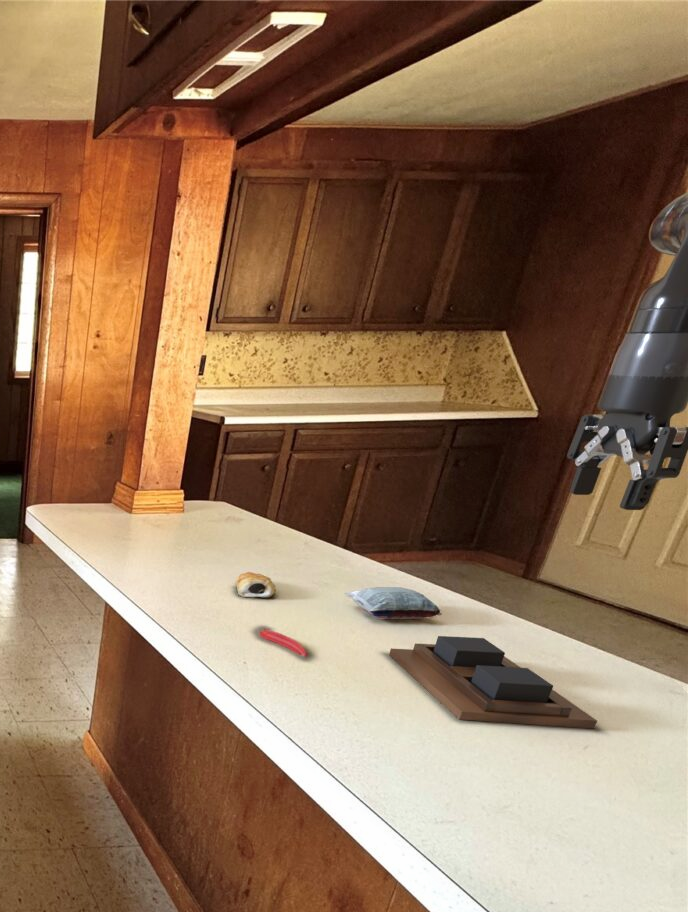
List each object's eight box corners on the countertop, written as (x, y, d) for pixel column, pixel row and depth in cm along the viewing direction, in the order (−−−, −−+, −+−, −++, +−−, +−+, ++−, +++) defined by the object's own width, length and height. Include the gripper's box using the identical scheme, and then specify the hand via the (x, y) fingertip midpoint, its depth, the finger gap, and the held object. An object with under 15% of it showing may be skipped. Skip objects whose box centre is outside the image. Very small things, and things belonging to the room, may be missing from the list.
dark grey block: (519, 690, 91) (527, 667, 90) (544, 709, 86) (553, 685, 85) (469, 687, 92) (476, 665, 91) (491, 705, 88) (499, 682, 86)
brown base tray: (498, 660, 101) (504, 646, 100) (594, 728, 84) (601, 712, 83) (388, 655, 104) (392, 640, 103) (459, 719, 87) (464, 703, 86)
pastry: (231, 581, 136) (234, 563, 135) (268, 584, 134) (271, 566, 133) (237, 597, 128) (241, 578, 127) (276, 600, 126) (280, 582, 125)
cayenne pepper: (250, 630, 115) (252, 620, 115) (278, 630, 115) (280, 620, 114) (283, 661, 104) (285, 651, 104) (314, 662, 104) (316, 651, 103)
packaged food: (341, 604, 123) (347, 580, 121) (410, 605, 122) (417, 580, 120) (367, 624, 115) (374, 598, 113) (441, 625, 114) (449, 599, 112)
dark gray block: (476, 658, 100) (483, 637, 98) (497, 674, 95) (505, 652, 94) (431, 656, 101) (437, 635, 100) (450, 671, 96) (457, 650, 95)
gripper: (748, 374, 74) (687, 515, 80) (641, 368, 87) (596, 489, 93) (667, 376, 75) (613, 514, 81) (574, 369, 88) (533, 489, 94)
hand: (604, 501), depth 87 cm, fingers open, 8 cm apart
